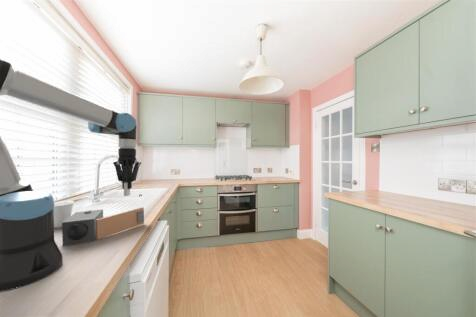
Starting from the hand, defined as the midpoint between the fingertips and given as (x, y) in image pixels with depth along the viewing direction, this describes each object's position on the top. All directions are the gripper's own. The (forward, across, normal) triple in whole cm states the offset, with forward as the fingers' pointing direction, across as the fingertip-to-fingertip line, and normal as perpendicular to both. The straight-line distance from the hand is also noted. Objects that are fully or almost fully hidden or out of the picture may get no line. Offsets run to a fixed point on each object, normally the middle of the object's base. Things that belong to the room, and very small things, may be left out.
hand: (126, 195), depth 93 cm
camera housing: (+15, +10, +13) cm, 22 cm away
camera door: (+14, -4, +9) cm, 17 cm away
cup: (+15, +32, +2) cm, 35 cm away
